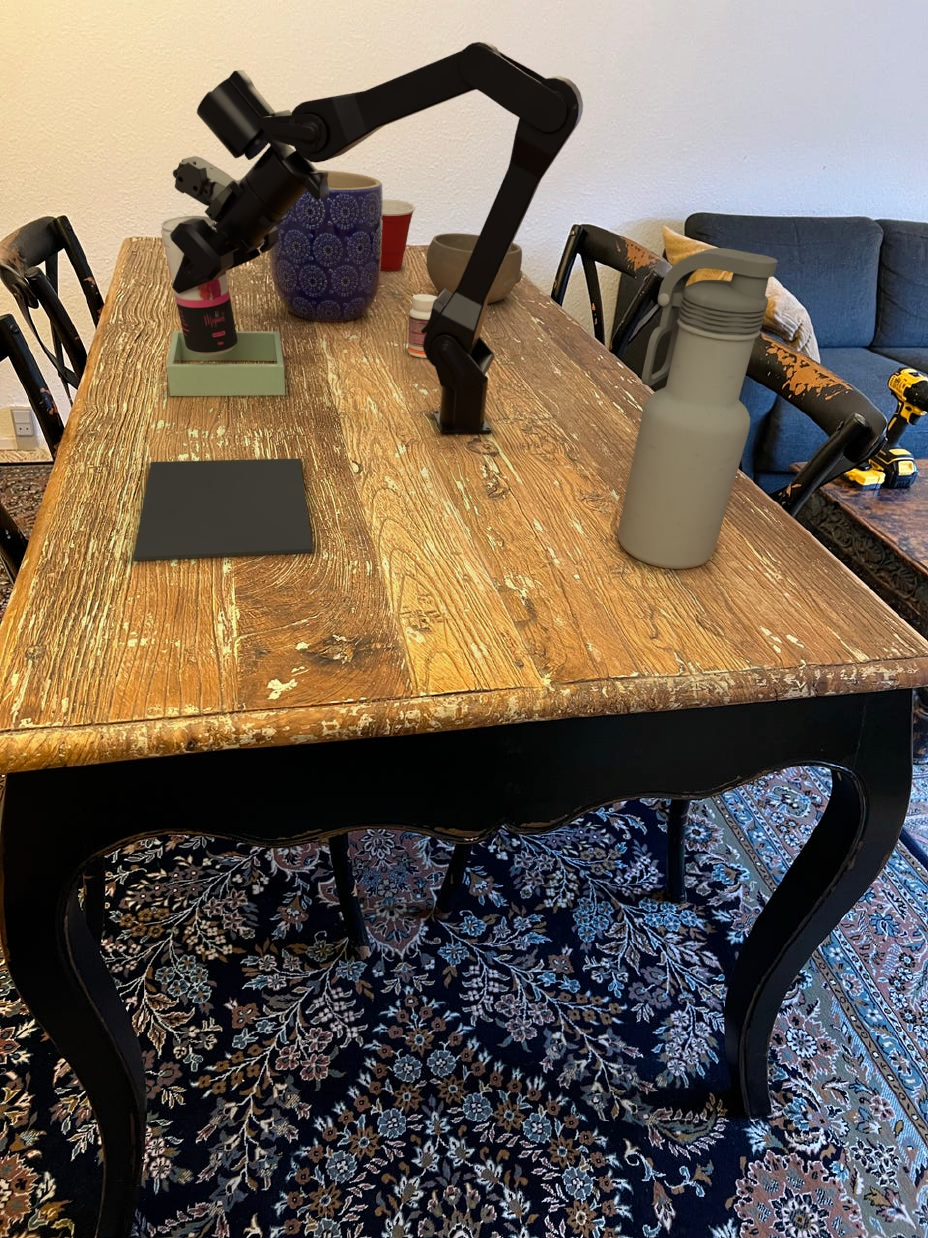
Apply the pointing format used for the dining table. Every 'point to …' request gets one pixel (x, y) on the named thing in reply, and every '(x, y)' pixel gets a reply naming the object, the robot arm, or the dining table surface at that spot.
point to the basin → (228, 368)
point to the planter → (331, 250)
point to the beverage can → (201, 302)
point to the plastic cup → (394, 232)
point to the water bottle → (694, 410)
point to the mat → (223, 510)
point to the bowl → (453, 256)
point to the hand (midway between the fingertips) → (188, 283)
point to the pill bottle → (419, 323)
